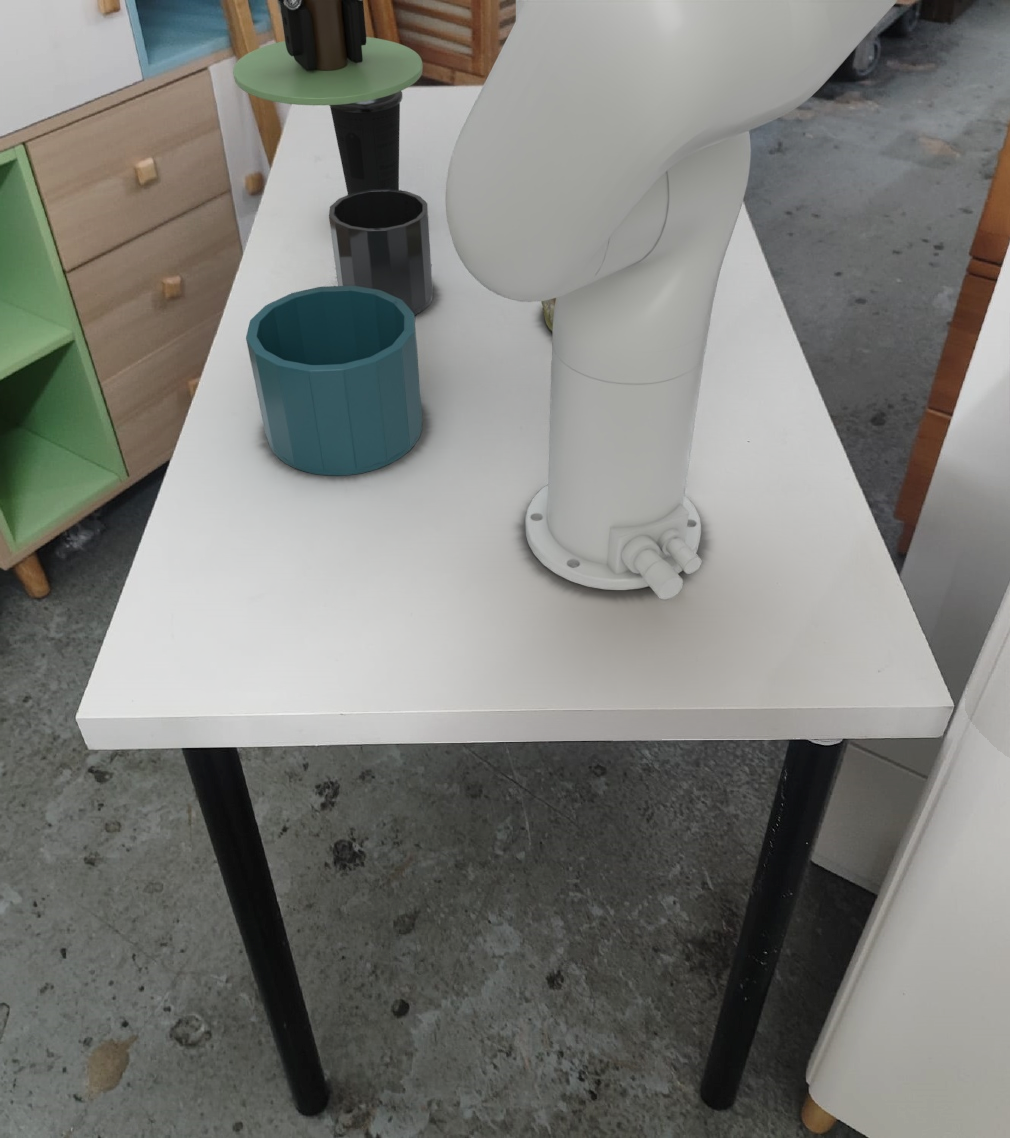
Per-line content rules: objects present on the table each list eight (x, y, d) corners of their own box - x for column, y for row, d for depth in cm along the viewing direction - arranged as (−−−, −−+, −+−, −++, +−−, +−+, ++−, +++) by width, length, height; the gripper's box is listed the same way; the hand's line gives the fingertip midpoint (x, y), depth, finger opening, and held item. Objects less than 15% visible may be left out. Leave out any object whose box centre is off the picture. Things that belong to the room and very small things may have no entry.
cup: (447, 308, 99) (443, 218, 93) (359, 329, 96) (348, 238, 90) (412, 269, 105) (405, 181, 98) (328, 288, 102) (316, 199, 96)
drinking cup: (420, 232, 111) (407, 30, 97) (352, 244, 109) (328, 40, 95) (399, 204, 116) (384, 9, 102) (333, 215, 114) (309, 18, 100)
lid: (453, 94, 73) (450, -1, 69) (269, 127, 68) (254, 28, 64) (381, 40, 82) (374, -47, 77) (213, 66, 77) (196, -25, 73)
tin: (446, 449, 82) (440, 344, 76) (294, 493, 78) (275, 387, 72) (389, 372, 90) (379, 272, 84) (249, 409, 86) (227, 307, 80)
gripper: (172, -254, 56) (233, 95, 69) (442, -267, 62) (452, 59, 74) (141, -266, 61) (203, 62, 74) (393, -277, 67) (411, 31, 79)
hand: (328, 58), depth 74 cm, fingers closed on lid, 2 cm apart
